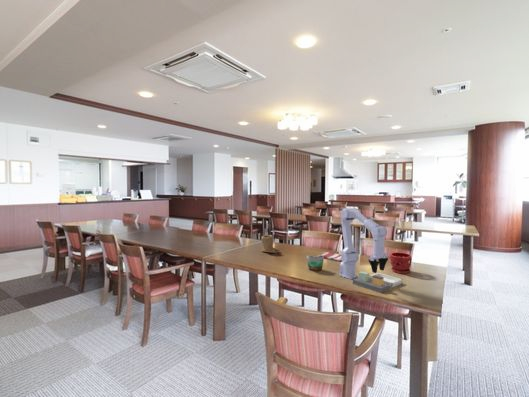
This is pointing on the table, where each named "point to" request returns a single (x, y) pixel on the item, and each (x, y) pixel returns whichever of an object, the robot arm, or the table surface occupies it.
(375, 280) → the fuse
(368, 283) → the grey flat slab
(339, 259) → the dish towel
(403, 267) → the plant pot
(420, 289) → the table surface
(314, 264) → the food container
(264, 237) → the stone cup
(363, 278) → the fuse
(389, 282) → the parts tray
